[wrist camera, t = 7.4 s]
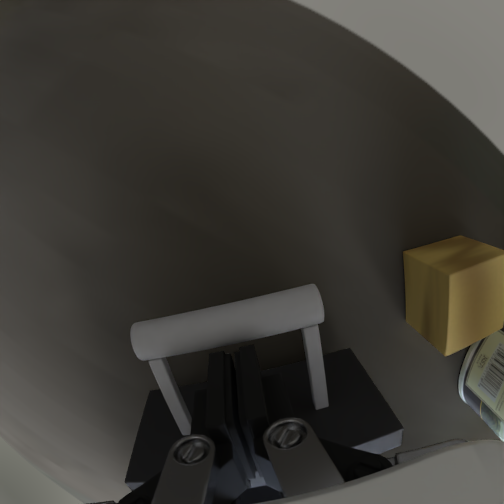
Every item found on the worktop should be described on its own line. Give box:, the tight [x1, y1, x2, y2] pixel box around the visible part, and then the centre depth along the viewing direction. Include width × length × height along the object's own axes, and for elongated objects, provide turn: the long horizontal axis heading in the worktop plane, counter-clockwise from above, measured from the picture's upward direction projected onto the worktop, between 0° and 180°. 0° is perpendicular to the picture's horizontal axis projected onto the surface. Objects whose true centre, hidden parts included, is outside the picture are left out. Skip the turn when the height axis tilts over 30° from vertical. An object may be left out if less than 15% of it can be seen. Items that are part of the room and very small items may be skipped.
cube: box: [403, 235, 504, 356], centre depth 15 cm, size 4×4×4 cm
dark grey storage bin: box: [125, 284, 404, 504], centre depth 14 cm, size 19×11×7 cm, turn 12°
